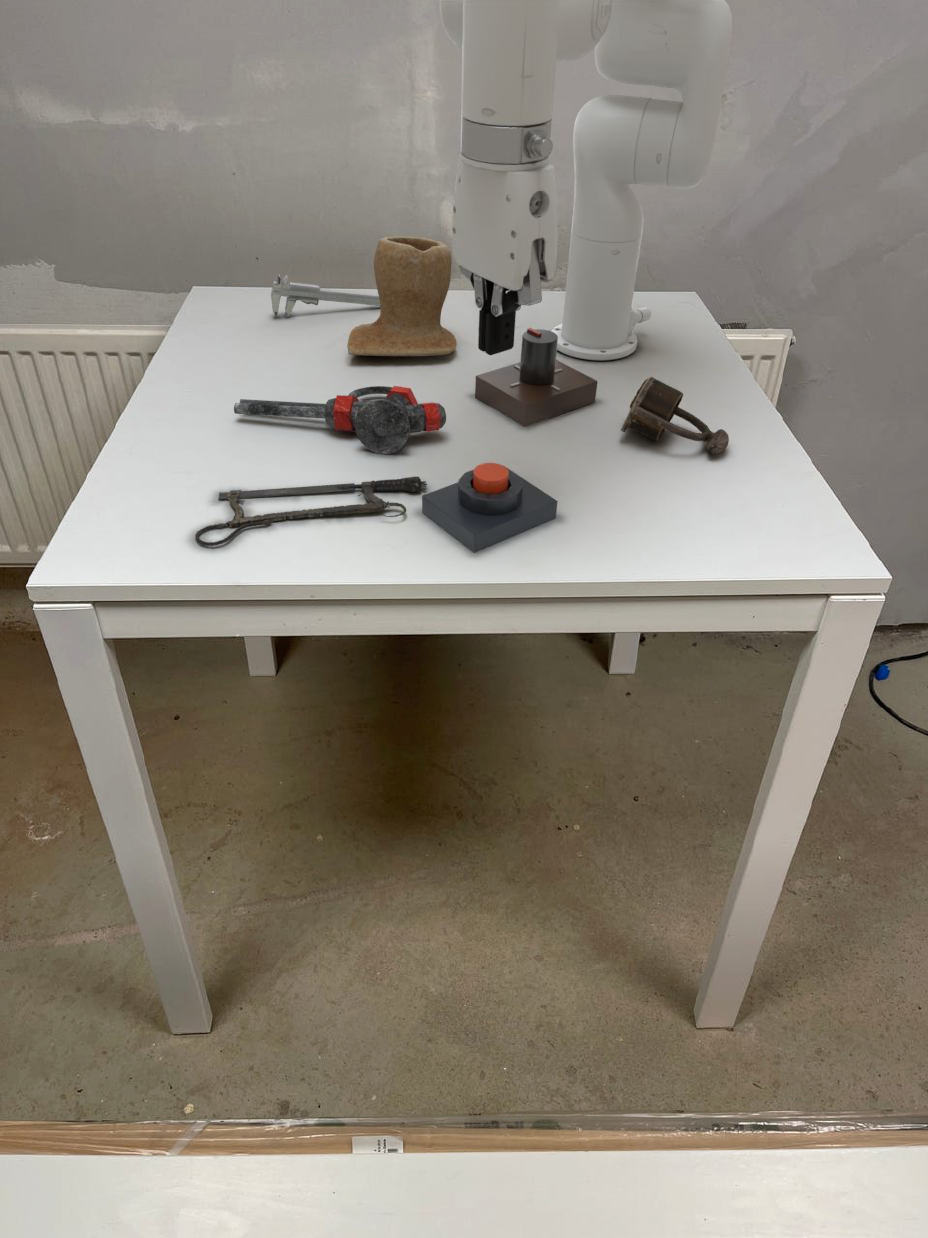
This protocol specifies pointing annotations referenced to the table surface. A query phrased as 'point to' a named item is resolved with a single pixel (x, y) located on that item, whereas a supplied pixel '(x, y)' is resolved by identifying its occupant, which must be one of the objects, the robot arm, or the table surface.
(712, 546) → the table surface
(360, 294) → the caliper
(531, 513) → the button box
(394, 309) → the stone cup
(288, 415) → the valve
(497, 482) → the button
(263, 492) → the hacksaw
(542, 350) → the dial
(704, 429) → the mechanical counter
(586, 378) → the dial panel
